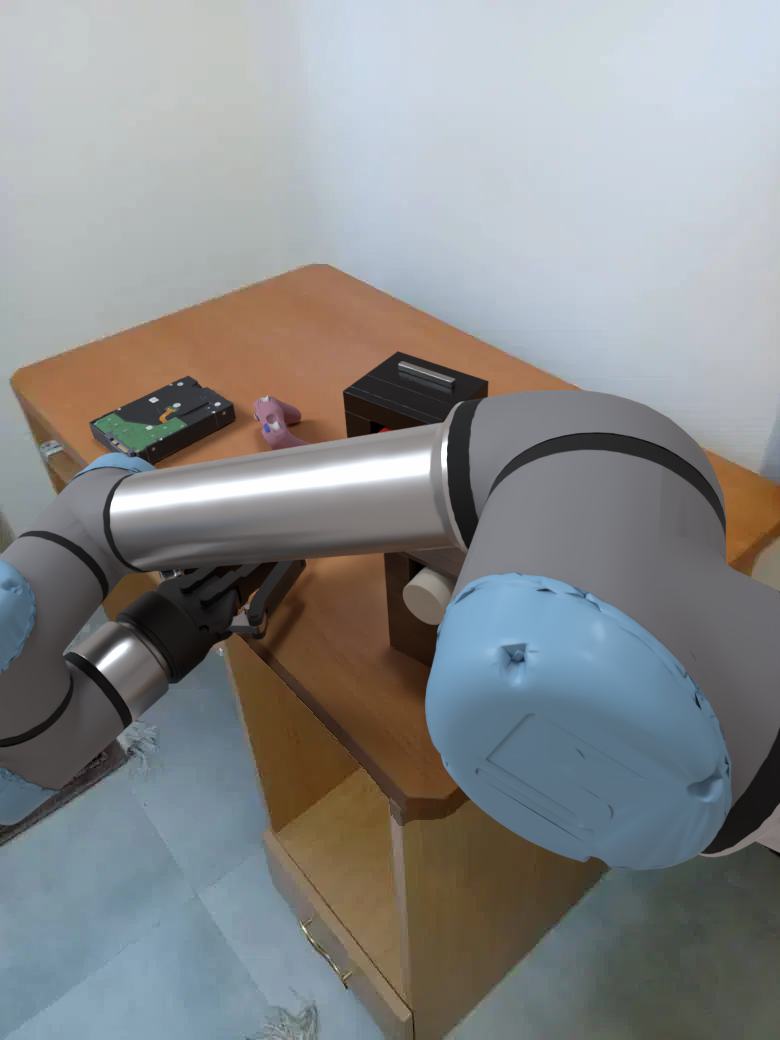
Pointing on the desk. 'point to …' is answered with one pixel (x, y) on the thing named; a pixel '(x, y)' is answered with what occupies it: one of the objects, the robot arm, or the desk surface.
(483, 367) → the desk surface
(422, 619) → the timer button
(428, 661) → the box
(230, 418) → the disk drive
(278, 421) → the video game controller
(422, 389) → the dark button box
